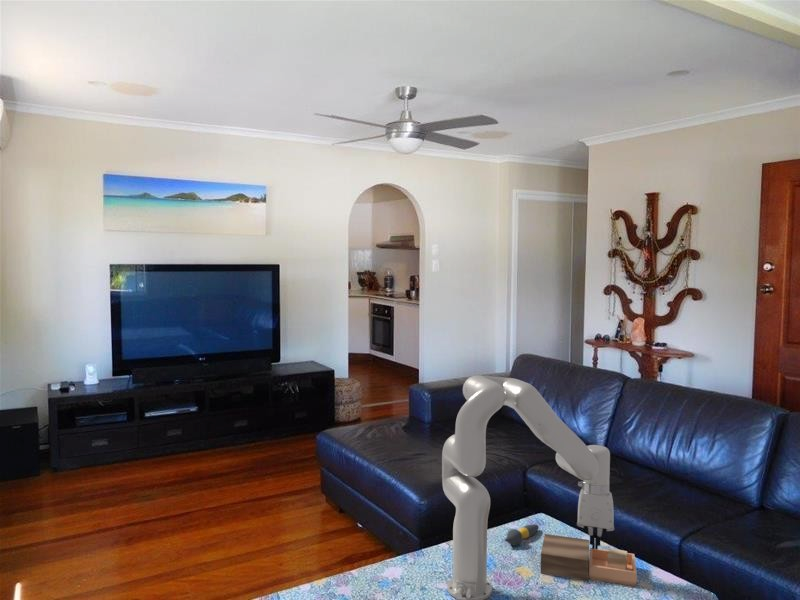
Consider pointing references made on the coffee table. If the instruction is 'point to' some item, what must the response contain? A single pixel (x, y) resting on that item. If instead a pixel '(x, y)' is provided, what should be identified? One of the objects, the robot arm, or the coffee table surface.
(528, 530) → the paintbrush
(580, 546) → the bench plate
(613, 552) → the beech block
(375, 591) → the coffee table surface
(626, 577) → the tray
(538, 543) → the coffee table surface
